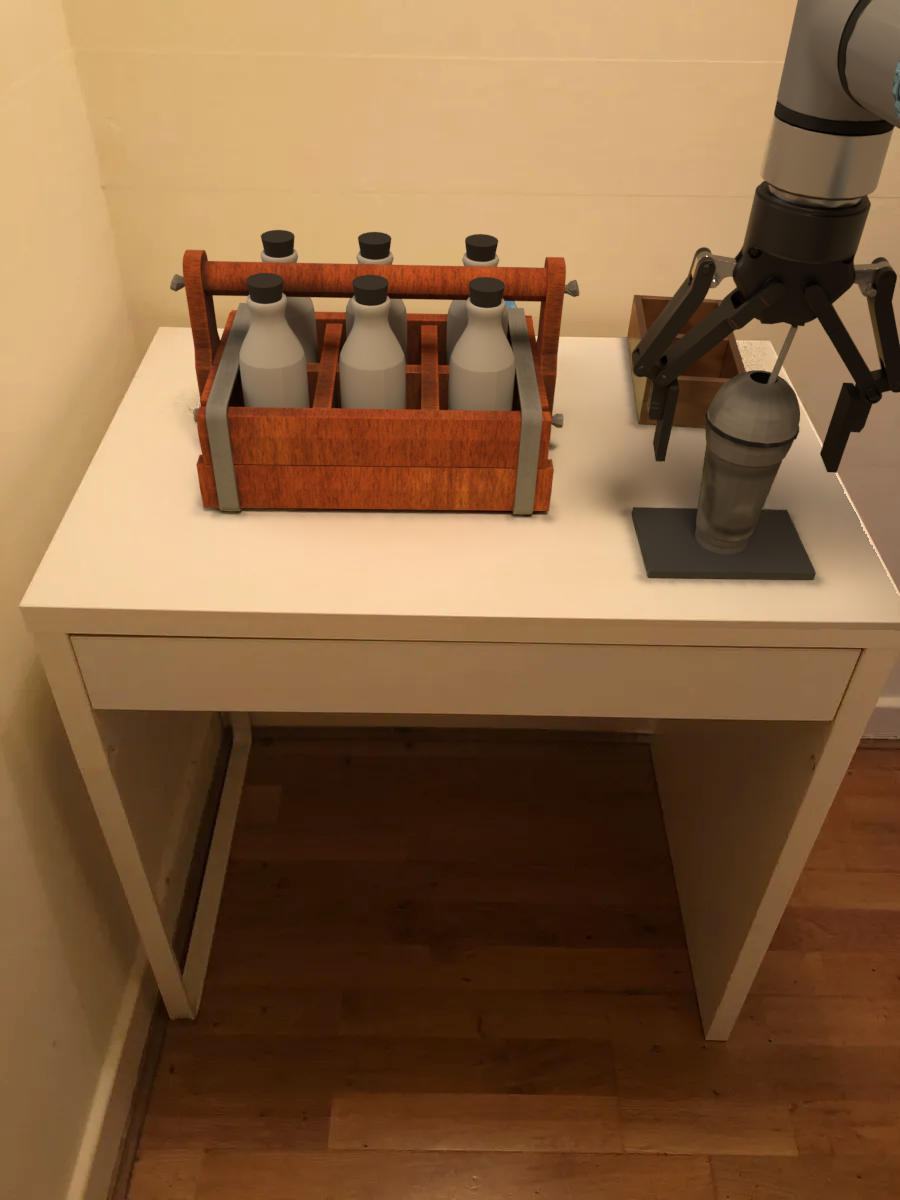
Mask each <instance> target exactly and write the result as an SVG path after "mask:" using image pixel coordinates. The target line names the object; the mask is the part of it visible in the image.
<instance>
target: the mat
mask: <svg viewBox="0 0 900 1200" xmlns="http://www.w3.org/2000/svg"><path fill="white" fill-rule="evenodd" d="M697 508H698V507H652V506H651V507H643V506H638V507H637V506H634V507H632V511H631V516H632V520H633V523H634V528H635V531H636V535H637V539H638V543H639V547H640V550H641V554H642V559H643V562H644V566H645V570H646V574H647V578H649V579H651V578H653V579H655V578H656V579H722V580H723V579H724V580H725V579H727V580H728V579H730V580H731V579H732V580H735V579H736V580H794V581H795V580H801V581H802V580H804V581H805V580H806V581H807V580H809V581H811V580H812V581H813V580H815V577H816V574H817V572H816V570H815V567H814V565H813V562H812V561H811V558H810V557H809V554H808V552H807V550H806V548H805V546H804V544H803V541H802V539H801V537H800V535H799V532H798V531H797V528H796V526H795V524H794V523H793V520H792V518H791V515H790V514H789V511H788V510H787V509H780V508H779V509H778V508H777V509H773V508H772V509H771V508H770V509H769V508H766V509H765V508H763V509H762V512H761V514H760V517H759V519H758V521H757V524H756V526H755V529H754V531H753V533H752V535H751V536H750V539H749V541H748V544H747V546H746V548H745V549H744V550H743V551H741V552H739V553H736V554H718V553H715V552H712V551H709V550H707V549H705V548H704V547H702V546H701V545H700V544H699V543H698V542H697V540H696V538H695V531H696V515H697Z"/></svg>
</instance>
